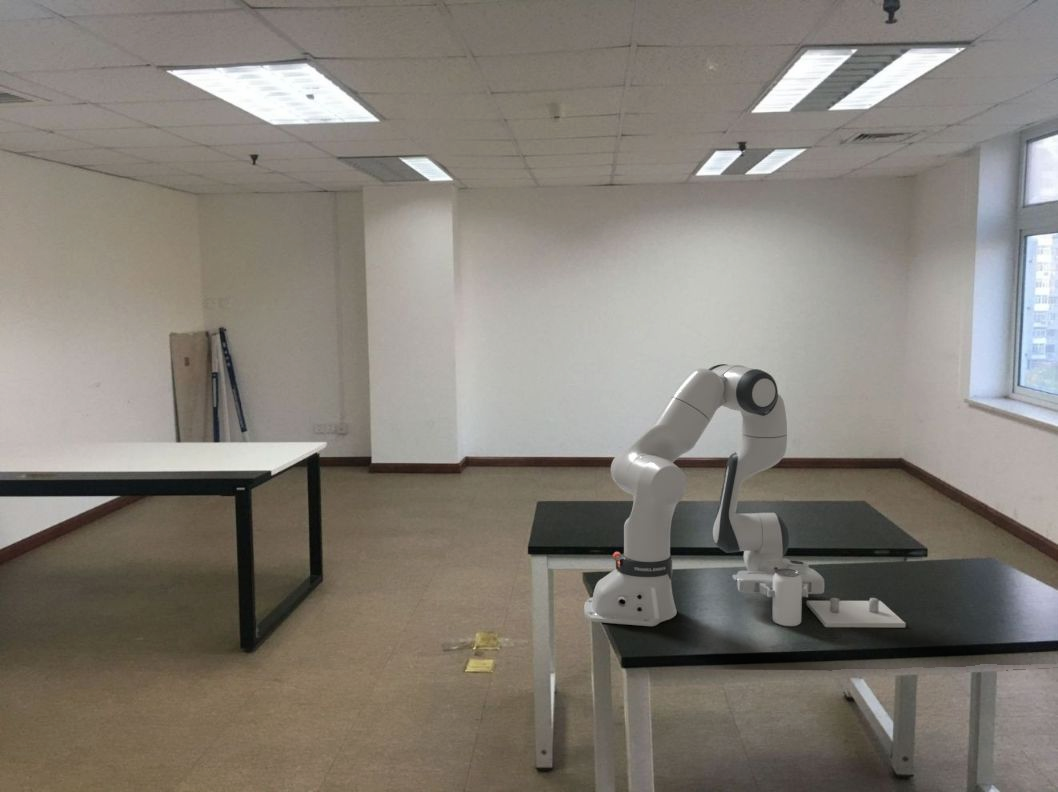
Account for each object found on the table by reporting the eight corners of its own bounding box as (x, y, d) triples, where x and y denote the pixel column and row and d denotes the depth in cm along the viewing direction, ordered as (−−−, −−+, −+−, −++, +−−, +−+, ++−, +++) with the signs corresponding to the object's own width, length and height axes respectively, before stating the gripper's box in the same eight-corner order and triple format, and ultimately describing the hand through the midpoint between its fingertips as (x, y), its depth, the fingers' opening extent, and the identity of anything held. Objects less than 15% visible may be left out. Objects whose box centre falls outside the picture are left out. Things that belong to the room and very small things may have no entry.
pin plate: (825, 627, 176) (825, 610, 175) (806, 604, 190) (806, 588, 189) (905, 627, 175) (905, 610, 174) (880, 604, 189) (880, 589, 188)
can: (805, 621, 179) (806, 571, 178) (794, 629, 175) (794, 578, 173) (779, 614, 184) (780, 565, 182) (767, 622, 179) (768, 572, 178)
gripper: (730, 562, 191) (743, 580, 178) (813, 562, 190) (832, 581, 177) (730, 586, 192) (743, 607, 178) (812, 586, 191) (832, 607, 177)
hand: (788, 594), depth 178 cm, fingers closed on can, 6 cm apart
